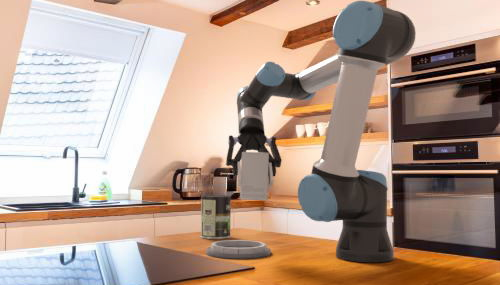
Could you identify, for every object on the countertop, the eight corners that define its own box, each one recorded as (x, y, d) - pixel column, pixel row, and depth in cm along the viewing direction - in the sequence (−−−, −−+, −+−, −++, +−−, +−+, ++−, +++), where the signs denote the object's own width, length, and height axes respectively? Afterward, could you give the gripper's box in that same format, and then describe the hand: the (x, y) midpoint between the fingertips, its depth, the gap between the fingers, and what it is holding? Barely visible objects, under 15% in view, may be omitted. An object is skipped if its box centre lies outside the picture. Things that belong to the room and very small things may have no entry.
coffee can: (231, 235, 173) (231, 195, 173) (229, 239, 162) (230, 196, 163) (202, 234, 173) (202, 194, 174) (198, 239, 162) (199, 196, 163)
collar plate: (276, 249, 143) (276, 241, 143) (263, 260, 126) (263, 250, 126) (217, 246, 147) (217, 238, 148) (196, 256, 130) (196, 247, 130)
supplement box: (267, 200, 129) (269, 152, 129) (239, 199, 129) (241, 151, 129) (267, 198, 136) (268, 152, 137) (240, 197, 136) (241, 152, 137)
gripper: (283, 136, 149) (292, 193, 133) (215, 134, 147) (215, 191, 131) (287, 117, 144) (296, 174, 128) (216, 115, 142) (216, 172, 126)
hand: (255, 183), depth 129 cm, fingers closed on supplement box, 8 cm apart
